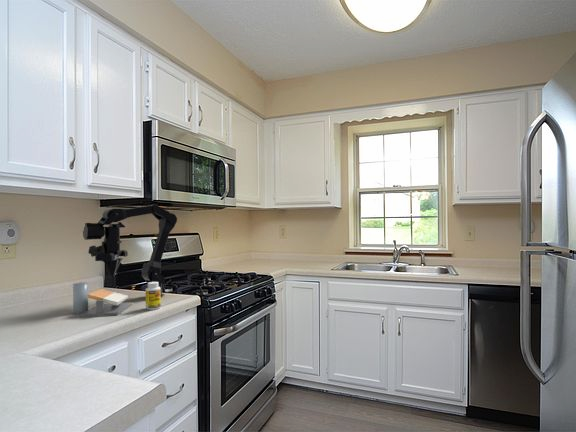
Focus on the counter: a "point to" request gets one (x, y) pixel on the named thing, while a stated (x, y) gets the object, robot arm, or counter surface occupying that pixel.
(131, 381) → the counter surface
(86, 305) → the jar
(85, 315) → the switch base
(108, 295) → the two-tone square pad
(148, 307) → the supplement bottle
